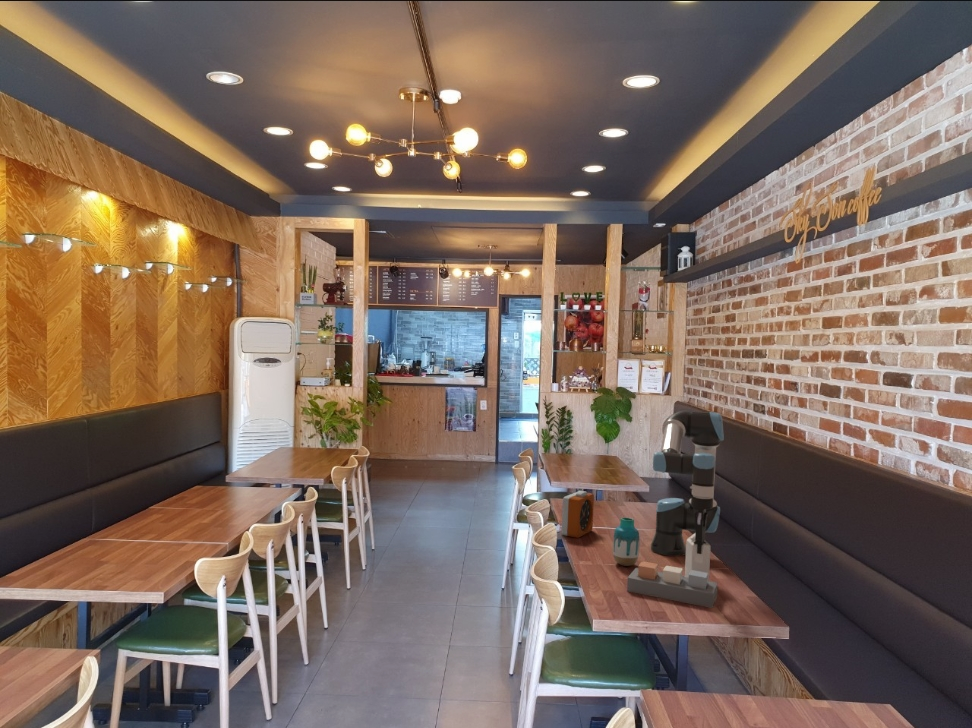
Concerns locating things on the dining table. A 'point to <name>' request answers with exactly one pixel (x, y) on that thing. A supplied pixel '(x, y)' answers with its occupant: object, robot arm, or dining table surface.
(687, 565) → the milk carton
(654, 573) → the key rust
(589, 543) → the dining table surface
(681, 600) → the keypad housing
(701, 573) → the key slate
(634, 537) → the vase
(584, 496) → the alarm clock
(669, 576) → the key ivory
